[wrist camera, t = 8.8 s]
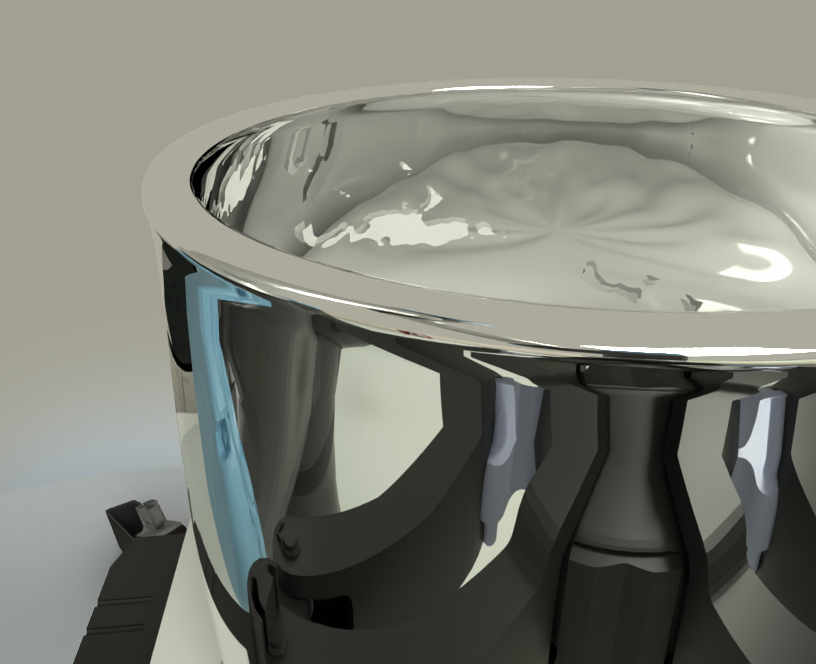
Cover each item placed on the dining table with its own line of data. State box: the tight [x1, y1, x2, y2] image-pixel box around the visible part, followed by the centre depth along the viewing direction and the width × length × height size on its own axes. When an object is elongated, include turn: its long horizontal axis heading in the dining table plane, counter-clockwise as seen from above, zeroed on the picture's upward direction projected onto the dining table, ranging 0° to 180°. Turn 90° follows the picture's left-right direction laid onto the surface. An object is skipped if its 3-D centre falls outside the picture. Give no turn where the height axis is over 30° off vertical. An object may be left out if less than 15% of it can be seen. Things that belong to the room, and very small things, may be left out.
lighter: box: [106, 500, 187, 552], centre depth 33 cm, size 9×2×6 cm
